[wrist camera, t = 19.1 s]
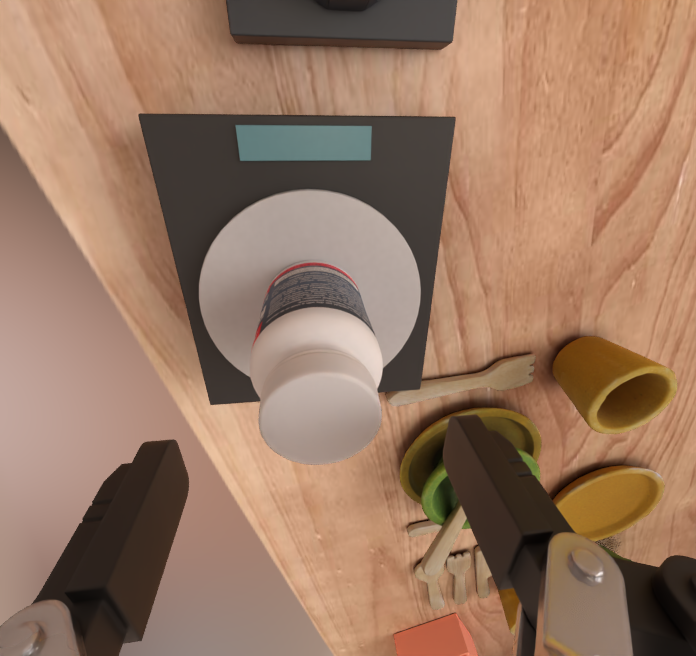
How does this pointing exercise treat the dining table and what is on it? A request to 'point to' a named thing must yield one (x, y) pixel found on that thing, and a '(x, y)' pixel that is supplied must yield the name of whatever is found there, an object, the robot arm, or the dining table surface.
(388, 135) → the scale
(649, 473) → the tableware set
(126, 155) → the dining table surface
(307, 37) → the block
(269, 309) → the pill bottle
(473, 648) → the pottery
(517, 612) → the robot arm
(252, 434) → the dining table surface
